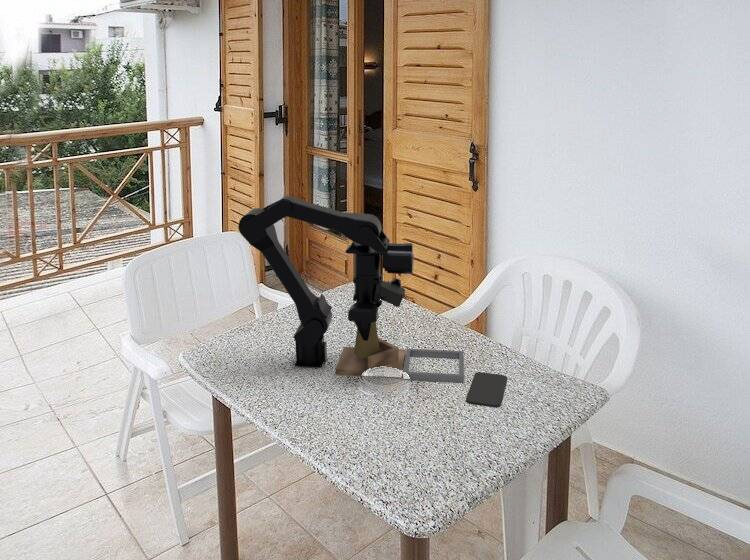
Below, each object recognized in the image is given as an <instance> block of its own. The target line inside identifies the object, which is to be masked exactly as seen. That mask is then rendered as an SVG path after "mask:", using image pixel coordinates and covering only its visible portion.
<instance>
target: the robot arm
mask: <svg viewBox="0 0 750 560" xmlns="http://www.w3.org/2000/svg"><path fill="white" fill-rule="evenodd" d="M286 217H287V218H291V219H294V220H297V221H301V222H304V223H308V224H311V225H315V226H318V227H322V228H325V229H328V230H332V231H335V232H337V233H339V234H341V235H342V236H344V237H345V238H347V239H348V240H350V241H352V243H350V245H348V246H347V248H346V249H345V254H348V255H349V254H351V255H353V254H354V258H353V259H354V273H353V274H354V275H353V276H354V277H353V278H352V281H353V282H352V284H354V293H353V295H352V300H353V302H354V301H355V303H352V305H351V306H350V307H349V309H348V312H347V321H349V322H354V324H355V326H356V329H357V328H358V330H359V332H360V334H361V337H362V339H363V340H364V341H368V338H369V333H370V328H371V324H372V322H376V323H377V321H378V320H377V318H379V314H380V313H379V308H380V307H381V306H382V304H383V302H385V303H388V304H390V305H392V306H393V307H395V308H398V307H400V306H401V305H402V301H403V299H404V296H405V293H406V288H405V287H404V286H402V280H401V279H400V278H397V277H394V278H393V279H392V280H390V281H389V280H387V281H386V280H383V274H382V273H381V266H382V269H384V271H385V272H386V273H387V274H394V275H395V274H396V275H399V274H400V275H413V274H414V273H413V272H414V260H415V259H414V258H415V257H414V250H413V247H414V246H413V245H414V244H413V243H412V242H407V243H406V242H405V243H394V242H393V243H390V241H391V240H390V239H389V238H388V236H387V235H386V234H385V232H384V231H383V229H382V223H381V221H380V220H379V218H378V217H377V216H375V215H373V214H371V213H362V212H361V213H360V212H345V211H344V212H343V211H339V210H336V209H331V208H330V207H325V206H322V205H319V204H316V203H312V202H309V201H305V200H302V199H299V198H296V197H294V196H292V195H284V196H282V197H281V198H280V199H278V200H277V201H275V202H272V203H270V204H269V205H266V206H265V207H263V208H259V207H257V208H256V207H255V208H252V209H250V210H249V211H247V213H246V214H244V215H243V216H242V217H241V218H240V220H239V221H238V222H239V223H238V226H237V228H238V231H239V233H240V235H241V236H242V237H243V238H244V239H245V240H246V242H248V244H249V245H250V246H252V247H253V248H255V249H256V250H257V251H259V252H260V253H261V254H262V256H263V257H264V258H265V260H266V262H267V263H268V265H269V266H270V267H271V270H272V271H273V273H274V274H275V275H276V277H277V278H278V280H279V281H280V283H281V284H282V286H283V288H284V289H285V290H286V292H287V294H288V295H289V297H290V298H291V299H292V301H293V303H294V304H295V308H296V312H297V316H298V320H299V322H300V324H299V325H298V327H297V329H296V331H295V333H294V334H293V339H294V343H295V361H294V367H298V368H299V367H301V368H303V367H304V368H323V366H324V363H325V362H326V361H327V358H328V348H327V346H328V344H327V341H325V334H326V333H327V331H328V330H329V327H330V325H331V323H332V319H333V313H332V312H333V311H332V309H333V307H332V306H331V305H330V304H329V303H328V301H327V299H326V296H325V295H324V294H321V295H319V296H317V295H316V294H314V293H313V292H312V291H311V289H310V288H309V287H308V285H307V284H306V282H305V281H304V279H303V277H302V275H301V274H300V273H299V271H298V269H297V268H296V266H295V265H294V264H293V262H292V260H291V258H290V257H289V256H288V254H287V253H286V251H285V249H284V247H282V245H281V243H280V242H279V239H278V234H277V231H276V228H275V227H276V226H275V225H274V224H276V223H278V222H279V221H281V220H282V219H285V218H286ZM381 256H382V261H381ZM381 264H382V265H381Z"/></svg>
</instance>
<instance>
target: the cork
mask: <svg viewBox="0 0 750 560" xmlns="http://www.w3.org/2000/svg"><path fill="white" fill-rule="evenodd" d="M378 318H379V317H378ZM378 318H377V321H378V320H379V319H378ZM377 321H376V322H372V324H371V328H370V333H369V338H368V341H364V340H363V339H362V337H361V334H360V332H359V330H358V328H357V327H356V334H355V335H356V336H355V342H354V343H355V344H354V347H355V349H354V354H355V355H357V356H359V357H364V358H368V356H371V355H374V354H377V353H380V349H379V341H378V338H379V335H378V334H379V333H378V328H377Z"/></svg>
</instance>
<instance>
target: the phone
mask: <svg viewBox="0 0 750 560" xmlns="http://www.w3.org/2000/svg"><path fill="white" fill-rule="evenodd" d="M507 382H508V377H507V375H504V374H499V373H489V372H481V371H477V372H475V373H474V375H473V377H472V381H471V383H470V387H469V389H468V392H467V395H466V397H465V403H466V404H469V405H475V406H476V405H477V406H483V407H491V408H499V407H501V405H502V403H503V399H504V395H505V394H504V393H505V389H506V386H507Z"/></svg>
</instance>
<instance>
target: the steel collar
mask: <svg viewBox="0 0 750 560" xmlns="http://www.w3.org/2000/svg"><path fill="white" fill-rule="evenodd" d="M405 350H406V356H405V362H404V368H403V372H406V373H407V374H408V375H409V377H410V379H411V380H410V381H425V382H427V381H428V382H445V383H446V382H448V383H465V365H464V363H465V362H464V361H465V359H464V357H465V356H464V354H465V353H464V350H444V349H443V350H442V349H427V348H425V349H424V348H423V349H421V348H406V349H405ZM411 357H421V358H426V357H427V358H440V359H442V358H443V359H458V373H446V372H445V373H441V372H424V371H423V372H422V371H421V372H420V371H409V369H410V368H409V367H410V362H411Z"/></svg>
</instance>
